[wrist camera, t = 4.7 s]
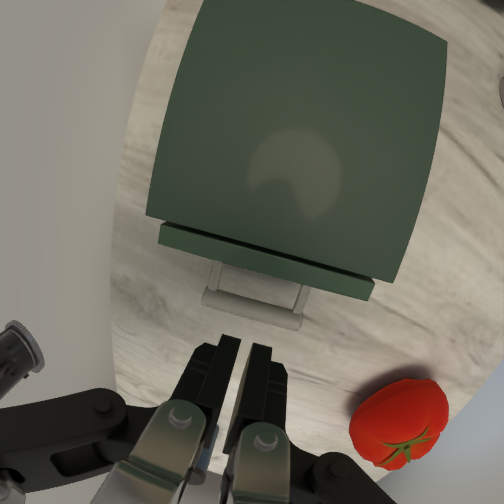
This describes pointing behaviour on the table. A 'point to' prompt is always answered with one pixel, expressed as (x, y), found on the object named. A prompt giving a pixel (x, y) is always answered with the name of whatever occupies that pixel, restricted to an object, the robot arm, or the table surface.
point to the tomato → (399, 422)
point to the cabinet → (302, 130)
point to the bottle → (502, 90)
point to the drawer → (267, 264)
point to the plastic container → (203, 463)
